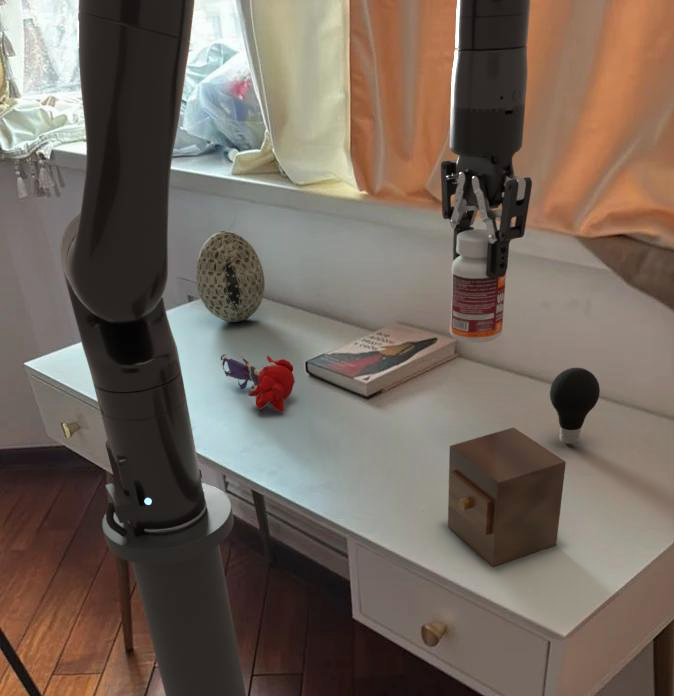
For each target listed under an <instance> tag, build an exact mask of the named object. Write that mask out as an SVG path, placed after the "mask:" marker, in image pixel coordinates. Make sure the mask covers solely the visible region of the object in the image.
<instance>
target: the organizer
mask: <svg viewBox="0 0 674 696" xmlns="http://www.w3.org/2000/svg"><path fill="white" fill-rule="evenodd" d="M448 457H449V458H448V466H449V467H448V506H447V507H448V509H447V527H448V528H449V529H450V530H451V531H452V532H454V534H455V535H457V536H458V537H459V538H460V539H461V540H463V541H464V542H465V544H467V545H468V546H469V547H470V548H471V549H473V550H474V551H475V552H476V553H477V554H478V555H479V556H480V557H482V558H483V559H484V560H485V561H486V562H487V563H488V564H489V565H490V566H492V567H497V566H500V565H503V564H505V563H508V562H511V561H514V560H516V559H519V558H523V557H525V556H528V555H531V554H534V553H537V552H540V551H543V550H545V549H548V548H551V547H555V546H557V544H558V543H557V541H558V534H559V524H560V516H561V507H562V499H563V489H564V482H565V481H564V480H565V474H566V473H565V472H566V466H567V465H566V464H567V461H565V460H564V459H562V458H561V457H560V456H558V455H557V454H555V453H554V452H552V451H551V450H549V449H547V447H544V446H543V445H541V444H540V443H538V442H537V441H535V440H534V439H532V438H531V437H529V436H527V435H526V434H524V433H523V432H521V431H520V430H518V429H517V428H515V427H509V428H506V429H503V430H500V431H496V432H492V433H490V434H485V435H482V436H478V437H475V438H472V439H469V440H465V441H462V442H457V443H455V444H451V445H449V455H448Z"/></svg>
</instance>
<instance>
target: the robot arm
mask: <svg viewBox="0 0 674 696" xmlns="http://www.w3.org/2000/svg"><path fill="white" fill-rule="evenodd" d="M456 1H457V2H456V11H455V12H456V14H455V15H456V16H455V38H454V39H455V41H454V43H455V44H454V47H455V48H454V58H453V65H452V71H451V88H450V89H451V90H450V91H451V92H450V119H449V121H450V123H449V150H450V151H451V152H452V153H453V154H454V155H457V156H458V158H455V159H449V160H443V161H442V162H441V163H440V186H441V187H440V189H441V191H440V192H441V213H442V218H443V219H444V220H449V222H450V227H451V228H452V229H453V241H452V242H453V244H452V245H453V246H452V260H453V262H454V260H455V259H456V258H457V257H459V256H460V255H459V254H458V253H457V252H456V246H457V235H458V234H459V233H461V232H463V231H467V230H474V229H475V227H473V225H474V223H475V221H476V218H477V214H478V213H479V216H480V220H481V222H483V223H485V225H486V229H487V232H488V237H489V241H490V242H489V243H488V249H487V266H486V275H487V277H489V278H492V279H493V278H498V277H503V276H504V275H505V274H506V275H507V271H508V267H509V251H510V243H511V241H512V240H515V239H521V238H523V237H524V236H525V231H526V225H527V219H528V212H529V205H530V199H531V195H532V194H531V193H532V188H533V187H532V186H533V181H532V178H531V177H529V176H527V177H519V176H517V175H515V171H514V165H513V157H514V155H515V154H516V153H518V152H519V151H521V149H522V146H523V139H524V125H525V113H526V101H527V100H526V99H527V87H528V86H527V84H528V73H529V72H528V71H529V70H528V40H529V39H528V38H529V24H530V11H531V0H456ZM194 10H195V0H78V9H77V45H78V48H77V49H78V67H79V81H80V91H81V100H82V112H83V119H84V120H83V121H84V129H85V144H86V145H85V147H86V149H85V150H86V152H85V153H86V158H85V159H86V160H85V163H86V164H85V175H84V183H83V190H82V198H81V205H80V206H81V207H80V212H78V213H77V214H76V215H74V216H73V218H71V219H70V221H69V222H68V224H67V225H66V226H65V229H64V230H63V233H62V237H61V240H60V248H59V249H60V250H59V252H60V253H59V254H60V256H59V257H60V262H61V267H62V272H63V276H64V281H65V284H66V288H67V292H68V296H69V299H70V303H71V307H72V311H73V315H74V318H75V319H74V320H75V322H76V325H77V330H78V334H79V338H80V342H81V346H82V350H83V352H84V356H85V358H86V359H85V360H86V362H87V365H88V368H89V373H90V376H91V380H92V383H93V388H94V393H95V395H96V396H95V397H96V400H97V404H98V408H99V412H100V416H101V420H102V425H103V429H104V432H105V436H106V441H105V442H104V443H105V447H106V452H107V455H108V456H107V457H108V460H109V465H110V467H111V472H112V475H113V478H114V482H111V483H107V484H104V487H105V491H106V492H105V493H106V496H107V499H108V504H107V508H106V512H105V514H106V521H107V523H108V525H109V527H110V528H111V529H112V530H114V531H115V532H117V533H118V534H120V535H121V536H122V537H123V536H125V535H126V534H127V533H128V532H127V530H126V529H124V528H123V527H121V526H120V525H119V524H117V523H116V522H115V520H114V512H115V514H116V516H117V518H118V520H119V522H120V523H123V522H126V521H127V523H128V525H129V526H130V528H131V529H132V531H133V533H134V535H135V536H136V537H138V536H141V535H167V534H173V533H177V532H180V531H183V530H186V529H188V528H190V527H192V526H194V525H195V524H197V523H198V522H200V521H201V520H202V519H203V517H204V516H205V514H206V512H207V504H206V500H205V496H204V491H203V487H202V483H203V481H202V479H203V475H202V472H201V471H202V470H201V469H200V465H199V460H198V454H197V449H196V444H195V439H194V433H193V427H192V422H191V416H190V411H189V406H188V400H187V395H186V389H185V384H184V378H183V373H182V367H181V361H180V356H179V350H178V346H177V343H176V340H175V337H174V335H173V331H172V328H171V325H170V322H169V317H168V314H167V309H166V305H165V301H164V293H165V290H166V287H167V283H168V277H169V214H170V213H169V209H170V207H169V206H170V182H171V181H170V180H171V169H172V162H173V155H174V149H175V148H174V147H175V144H176V139H177V133H178V127H179V121H180V114H181V108H182V101H183V93H184V87H185V80H186V79H185V78H186V73H187V72H186V71H187V65H188V59H189V52H190V47H191V42H190V41H191V37H192V28H193V20H194V19H193V18H194ZM453 195H454V196H453ZM452 196H453V200H452ZM500 206H501V208H499V207H500ZM498 208H499V209H498ZM513 218H515V222H514V225H513ZM497 220H499V221H500V222H499V229H498V225H497Z"/></svg>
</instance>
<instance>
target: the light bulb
mask: <svg viewBox="0 0 674 696" xmlns="http://www.w3.org/2000/svg"><path fill="white" fill-rule="evenodd" d="M549 389H550V390H549V399H550V402H551V405H552V407H553V408H554V409H555V411H556V413H557V419H558V424H559V427H560V428H559V437H558V439H559V441H560V442H562V443H563V444H564V445H565V446H572V445H573V444H576V443H577V442H579V440H580V436H581V430H582V427H583V425H584V423H585V420H586V418H587V415H588V414H589V413H590V412H591V411H592V410H593V409H594V408H595V406H596V405H597V403H598V401H599V399H600V392H601V391H600V389H601V388H600V384H599V381H598V378H597V377H596V375H594V374H593V373H592V372H591V371H589V370H588V369H585V368H583V367H570V368H567V369H565V370H563V371H561V372H560V373H559V374H557V376H556V377H555V378H554V379H553V380H552V383H551V385H550V388H549Z"/></svg>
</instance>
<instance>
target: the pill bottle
mask: <svg viewBox="0 0 674 696" xmlns="http://www.w3.org/2000/svg"><path fill="white" fill-rule="evenodd" d="M489 242H490V241H489V237H488V232H487V228H478V229H477V228H476V229H475V228H474V230H467V231H463V232H461V233H459V234H458V235H457V246H456V252H457V253H458V254H459V255H460V256H459V257H457V258H456V259H455V260H454V261H453V262H452V264H451V275H450V276H451V277H450V279H451V280H450V281H451V283H450V310H449V311H450V312H449V313H450V316H449V334H450V335H451V337H452V338H453V339H455V340H457V341H460V342H463V343H473V344H475V343H476V344H480V343H481V344H482V343H488V342H492V341H494V340H496V339H498V338H500V336H501V335H502V331H503V322H504V321H503V319H504V307H505V295H506V279H507V277H506V276H507V273H506V274H505V275H504V276H503V277H498V278H493V279H492V278H489V277H487V275H486V266H487V249H488V243H489Z"/></svg>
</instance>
